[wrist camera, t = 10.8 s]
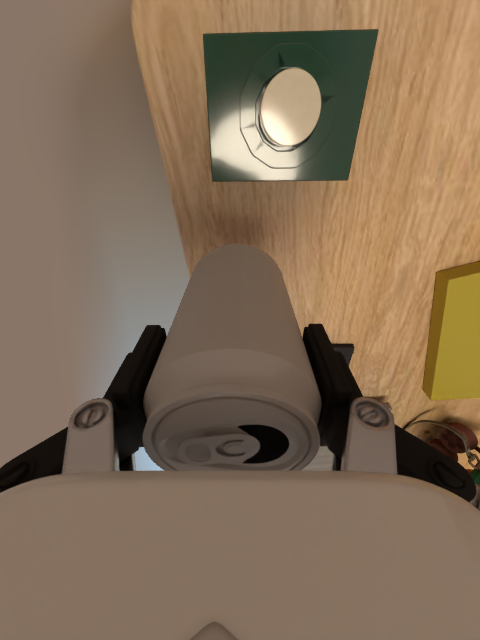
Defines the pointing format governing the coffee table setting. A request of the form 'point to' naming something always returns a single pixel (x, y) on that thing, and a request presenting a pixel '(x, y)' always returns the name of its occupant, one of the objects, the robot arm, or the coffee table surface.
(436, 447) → the binoculars
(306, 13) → the coffee table surface
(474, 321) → the flat olive board
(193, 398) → the beverage can
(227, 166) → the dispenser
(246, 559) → the robot arm
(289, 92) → the cylinder
